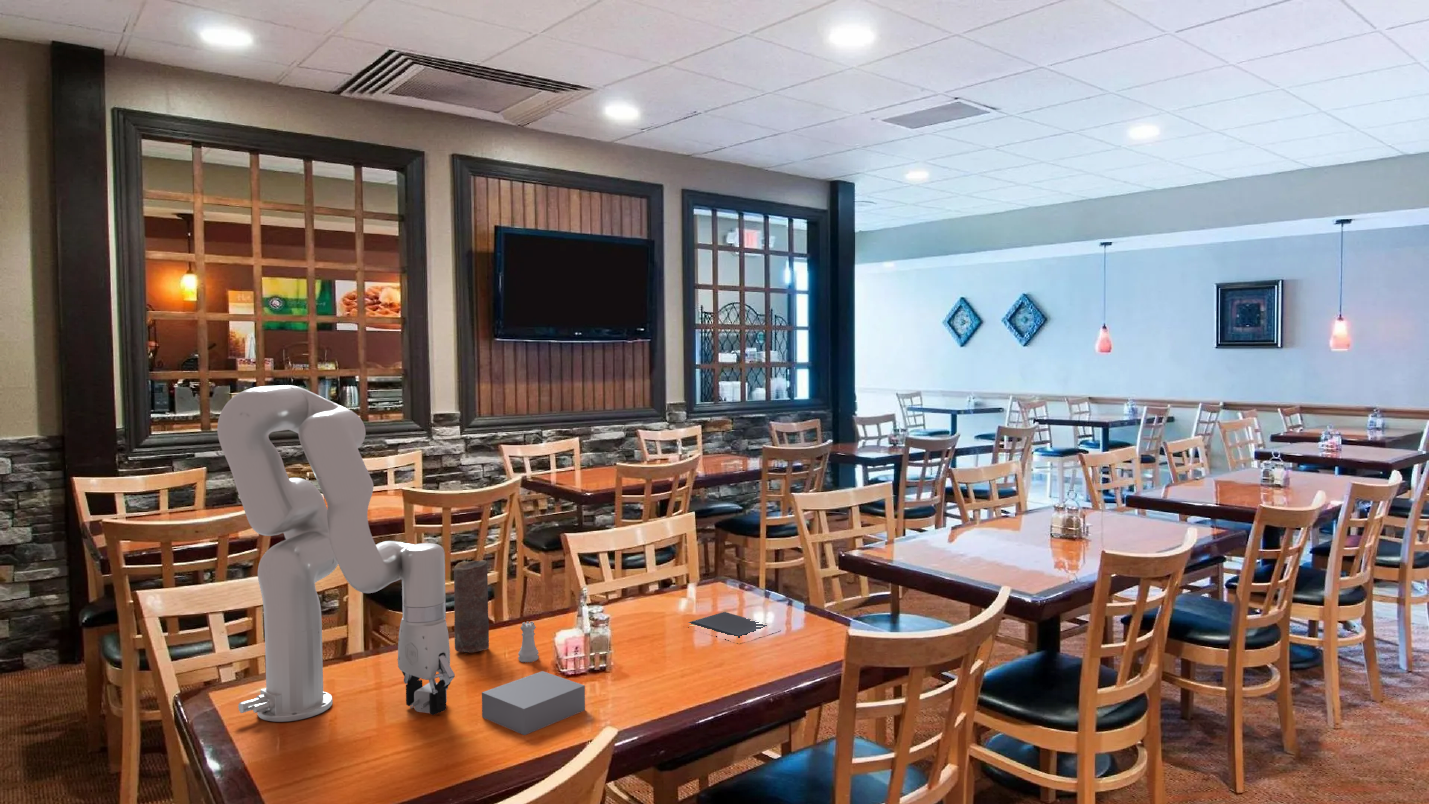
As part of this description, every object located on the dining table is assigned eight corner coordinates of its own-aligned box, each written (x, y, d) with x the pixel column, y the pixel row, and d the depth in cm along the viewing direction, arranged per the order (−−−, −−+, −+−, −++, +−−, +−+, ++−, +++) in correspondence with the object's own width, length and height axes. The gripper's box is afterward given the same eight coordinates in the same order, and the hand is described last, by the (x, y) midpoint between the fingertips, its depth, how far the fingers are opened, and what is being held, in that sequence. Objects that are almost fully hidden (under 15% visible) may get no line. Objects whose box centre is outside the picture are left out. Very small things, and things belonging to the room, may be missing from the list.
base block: (524, 737, 153) (523, 708, 153) (482, 719, 161) (481, 692, 161) (585, 712, 164) (584, 685, 164) (542, 696, 172) (542, 671, 172)
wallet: (782, 625, 211) (736, 639, 201) (782, 633, 212) (736, 647, 201) (725, 608, 226) (679, 620, 216) (725, 615, 226) (679, 628, 216)
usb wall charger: (446, 704, 167) (446, 683, 167) (425, 719, 160) (425, 697, 160) (428, 702, 168) (427, 681, 168) (406, 716, 161) (405, 695, 161)
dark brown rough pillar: (483, 657, 193) (482, 566, 192) (449, 657, 193) (448, 566, 192) (493, 646, 200) (491, 558, 199) (460, 645, 201) (459, 558, 200)
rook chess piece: (530, 654, 195) (529, 618, 194) (543, 659, 192) (543, 622, 191) (513, 660, 191) (513, 623, 191) (526, 664, 188) (526, 627, 188)
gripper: (378, 608, 165) (380, 703, 166) (435, 625, 155) (437, 726, 156) (413, 599, 171) (415, 691, 172) (471, 615, 161) (472, 712, 162)
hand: (426, 707), depth 164 cm, fingers open, 6 cm apart
